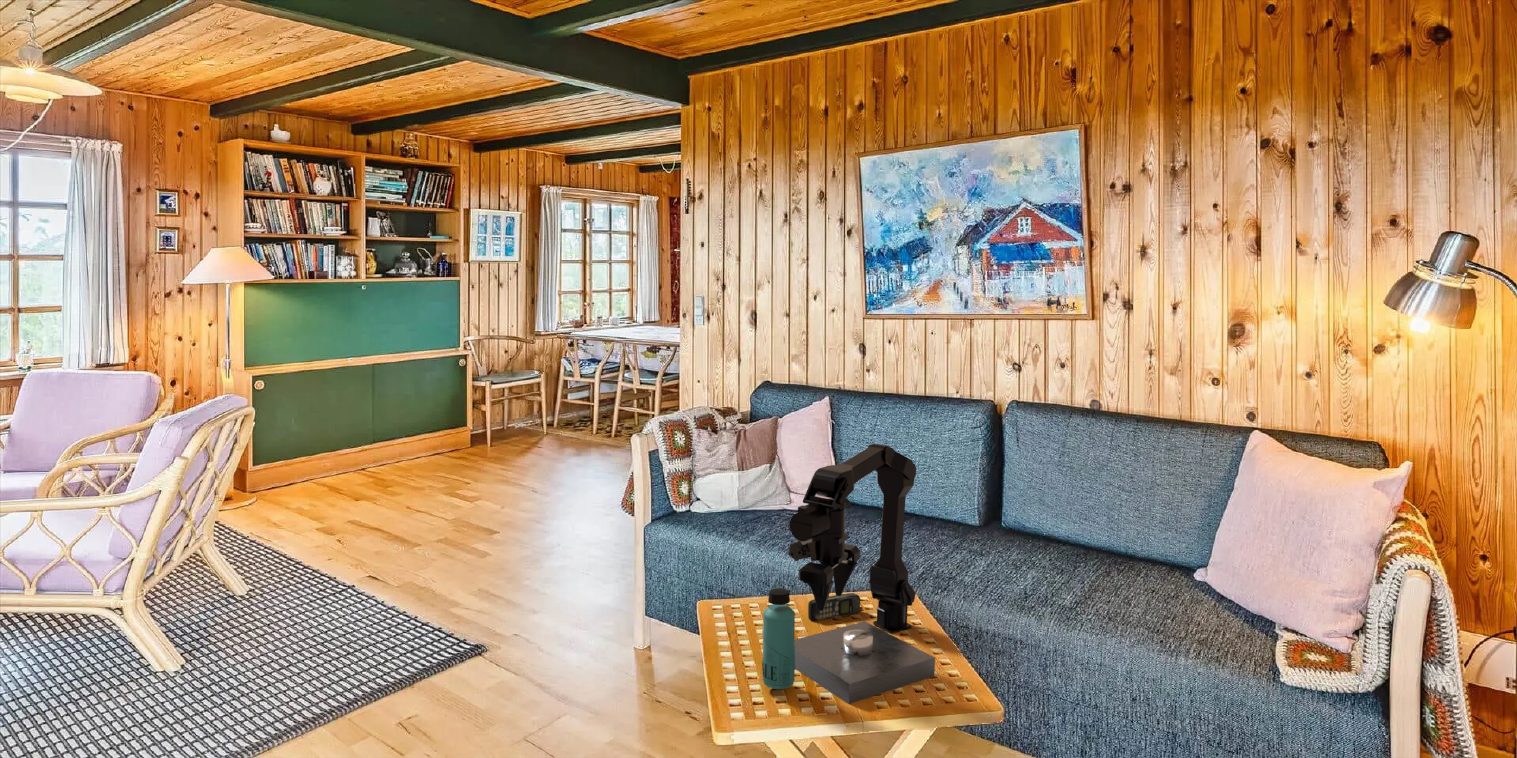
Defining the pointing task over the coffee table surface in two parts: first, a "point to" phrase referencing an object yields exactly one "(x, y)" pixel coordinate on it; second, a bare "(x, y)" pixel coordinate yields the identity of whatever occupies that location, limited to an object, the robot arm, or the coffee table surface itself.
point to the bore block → (861, 663)
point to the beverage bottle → (778, 641)
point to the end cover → (858, 642)
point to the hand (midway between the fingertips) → (829, 602)
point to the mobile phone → (835, 607)
